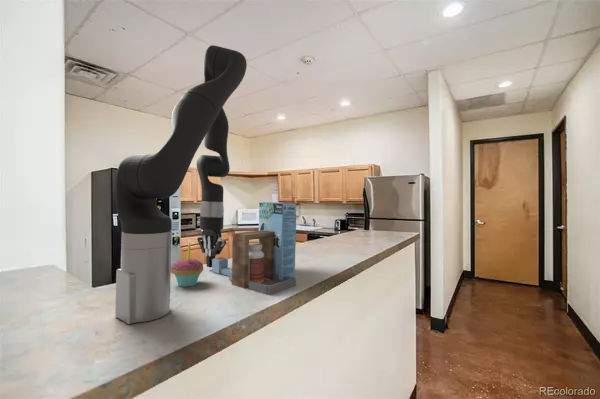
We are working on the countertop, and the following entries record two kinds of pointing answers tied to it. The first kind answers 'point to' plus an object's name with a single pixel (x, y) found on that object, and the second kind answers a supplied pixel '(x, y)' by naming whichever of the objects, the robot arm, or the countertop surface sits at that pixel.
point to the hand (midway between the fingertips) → (210, 266)
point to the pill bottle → (256, 263)
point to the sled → (221, 267)
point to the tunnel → (242, 255)
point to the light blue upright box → (280, 234)
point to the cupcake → (187, 270)
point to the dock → (273, 288)
